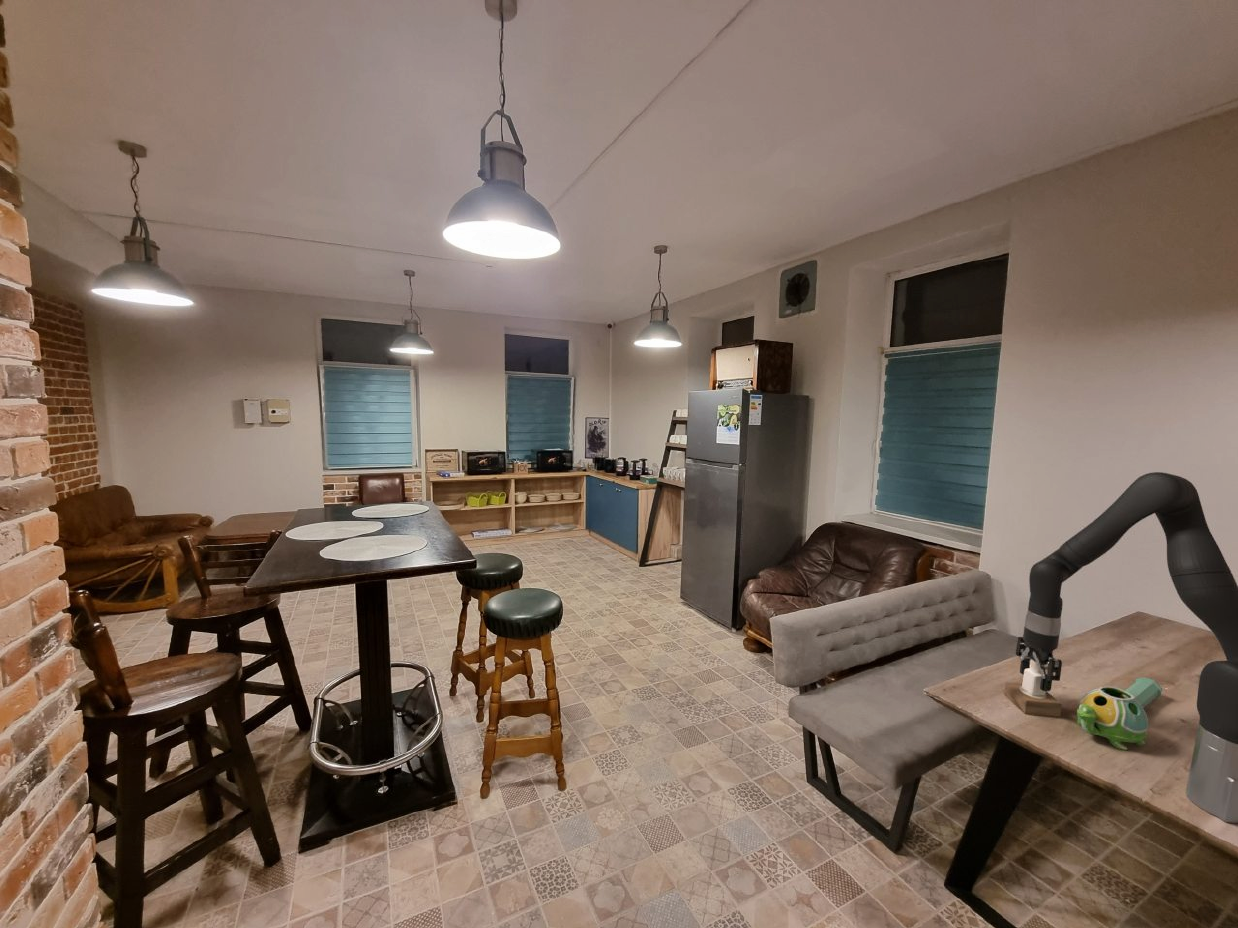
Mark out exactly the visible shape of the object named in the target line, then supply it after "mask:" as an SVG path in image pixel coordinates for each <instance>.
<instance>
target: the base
mask: <svg viewBox="0 0 1238 928" xmlns="http://www.w3.org/2000/svg"><path fill="white" fill-rule="evenodd" d="M1003 692H1004V693H1003V696H1005V697H1006V698H1007V699H1008V700H1009V701H1010V702H1011V703H1012V704H1013V705H1015V707H1016V708H1017V709H1019V710H1020V711H1021V712H1022V713H1023V714H1024V713H1025V714H1024V715H1033V716H1043V717H1044V716H1045V717H1056V718H1060V717H1061V714H1062V713H1061V712H1062V706H1063V704H1062V702H1060V701H1059V700H1058V699H1056V697H1054V696H1053V695H1052V694H1051V693H1049V691H1046V694H1045V695H1044V696H1037V695H1031V694H1030V693H1028V692H1027V691H1026V690H1024V689H1023V688H1022V683H1017V682H1008V681H1006V682H1005V683H1004V690H1003Z"/></svg>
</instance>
